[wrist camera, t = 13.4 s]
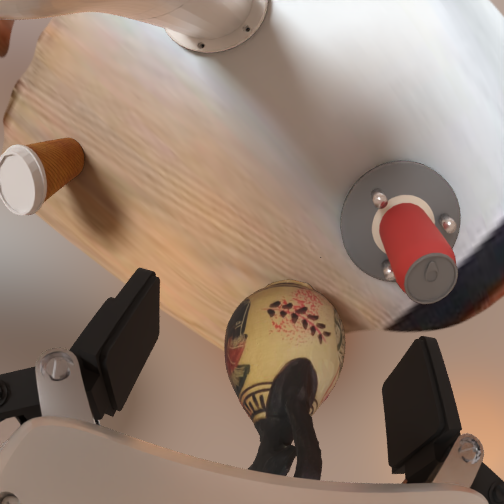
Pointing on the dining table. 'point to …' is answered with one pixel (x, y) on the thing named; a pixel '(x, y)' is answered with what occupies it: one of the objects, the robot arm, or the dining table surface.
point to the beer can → (418, 253)
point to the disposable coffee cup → (37, 172)
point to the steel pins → (381, 202)
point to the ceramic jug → (285, 371)
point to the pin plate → (396, 191)
